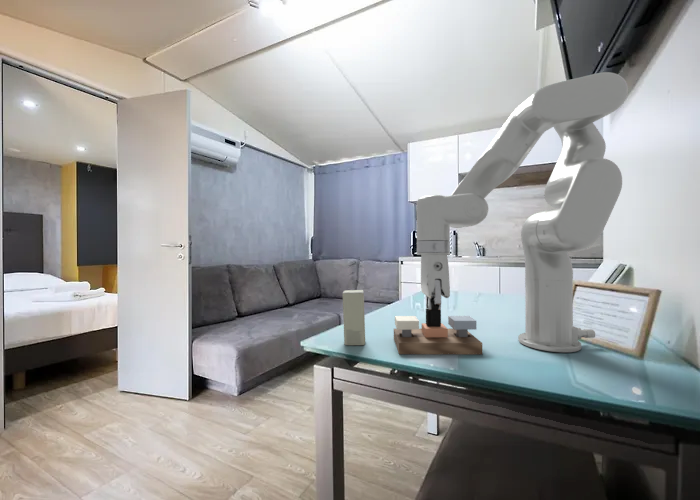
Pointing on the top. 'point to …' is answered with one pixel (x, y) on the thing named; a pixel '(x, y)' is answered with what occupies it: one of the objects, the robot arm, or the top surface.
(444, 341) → the walnut board
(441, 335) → the terracotta key
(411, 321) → the cream key
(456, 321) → the slate key
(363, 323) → the box
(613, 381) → the top surface
